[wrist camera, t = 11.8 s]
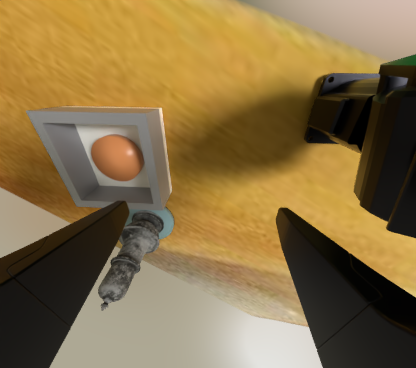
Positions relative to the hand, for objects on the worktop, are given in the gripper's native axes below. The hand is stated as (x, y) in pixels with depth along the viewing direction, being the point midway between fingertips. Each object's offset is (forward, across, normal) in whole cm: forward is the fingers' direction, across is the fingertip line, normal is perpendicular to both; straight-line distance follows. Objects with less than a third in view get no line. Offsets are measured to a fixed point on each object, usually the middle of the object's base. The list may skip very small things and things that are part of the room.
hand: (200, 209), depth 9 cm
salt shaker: (+11, +10, +13) cm, 20 cm away
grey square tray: (+12, +11, +1) cm, 16 cm away
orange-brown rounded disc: (+11, +11, +1) cm, 15 cm away
